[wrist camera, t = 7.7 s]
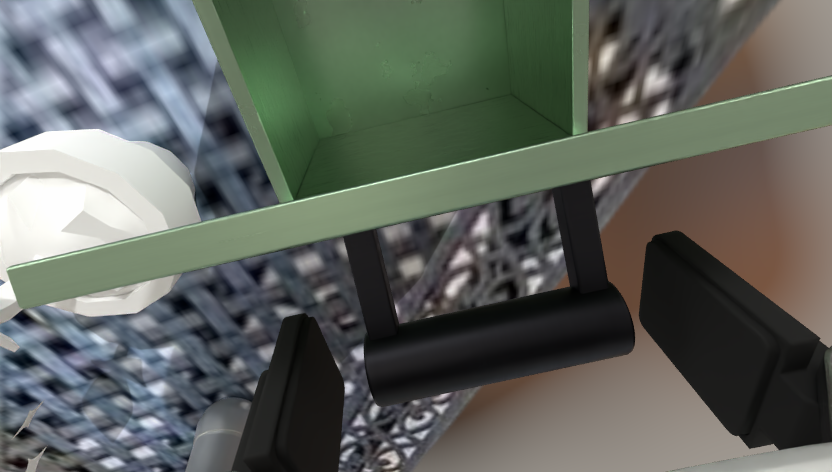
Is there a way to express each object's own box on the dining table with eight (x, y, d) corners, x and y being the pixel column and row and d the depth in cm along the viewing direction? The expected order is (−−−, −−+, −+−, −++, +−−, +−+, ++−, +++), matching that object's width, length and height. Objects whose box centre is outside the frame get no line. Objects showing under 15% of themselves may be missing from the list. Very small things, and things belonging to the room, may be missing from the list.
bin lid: (2, 267, 7) (97, 531, 8) (973, 42, 6) (991, 344, 7) (281, 213, 21) (306, 306, 22) (590, 142, 21) (607, 239, 21)
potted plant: (186, 264, 36) (-90, 650, 15) (44, 186, 31) (-667, 583, 10) (265, 164, 32) (44, 492, 11) (116, 57, 27) (-813, 258, 6)
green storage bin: (240, -59, 25) (148, -100, 15) (502, -125, 24) (592, -215, 14) (314, 148, 32) (285, 217, 22) (519, 100, 31) (587, 147, 21)
